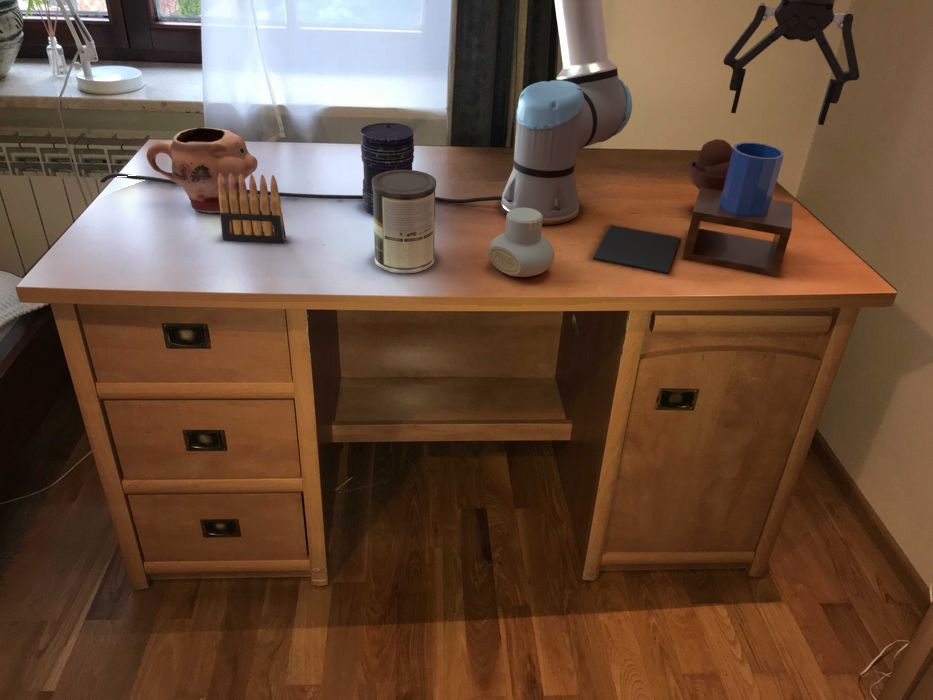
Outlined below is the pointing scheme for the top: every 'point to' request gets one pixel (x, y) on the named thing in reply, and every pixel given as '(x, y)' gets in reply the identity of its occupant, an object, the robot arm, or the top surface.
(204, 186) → the decorative planter
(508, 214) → the air freshener
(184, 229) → the top surface
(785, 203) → the shelf
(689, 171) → the ice cream bowl
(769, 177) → the cup
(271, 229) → the ammunition clip
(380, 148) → the storage jar
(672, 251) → the mat
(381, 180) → the coffee can
